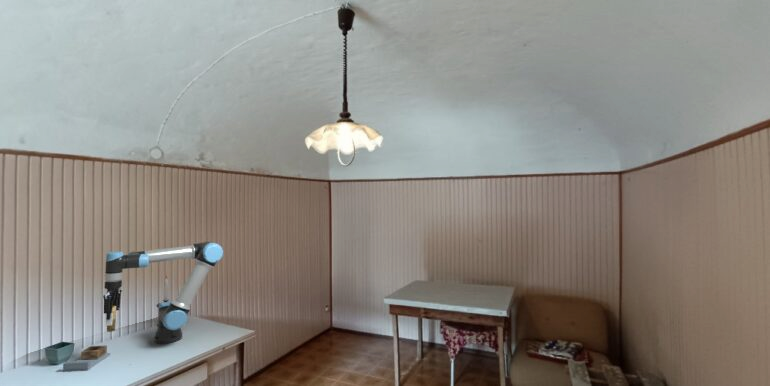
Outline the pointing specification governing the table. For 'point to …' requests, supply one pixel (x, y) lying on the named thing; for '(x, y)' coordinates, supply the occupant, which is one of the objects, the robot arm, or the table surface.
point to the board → (82, 364)
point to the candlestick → (165, 293)
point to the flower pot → (59, 352)
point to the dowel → (112, 327)
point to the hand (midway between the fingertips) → (111, 323)
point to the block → (93, 352)
